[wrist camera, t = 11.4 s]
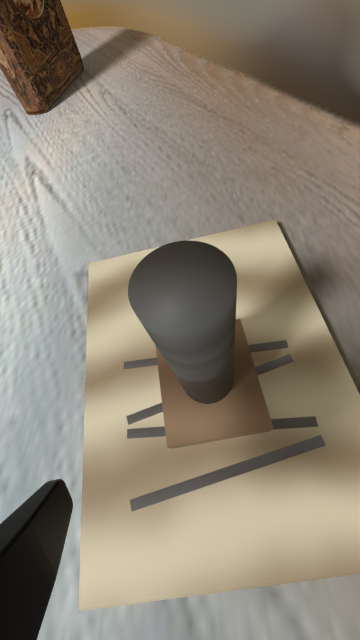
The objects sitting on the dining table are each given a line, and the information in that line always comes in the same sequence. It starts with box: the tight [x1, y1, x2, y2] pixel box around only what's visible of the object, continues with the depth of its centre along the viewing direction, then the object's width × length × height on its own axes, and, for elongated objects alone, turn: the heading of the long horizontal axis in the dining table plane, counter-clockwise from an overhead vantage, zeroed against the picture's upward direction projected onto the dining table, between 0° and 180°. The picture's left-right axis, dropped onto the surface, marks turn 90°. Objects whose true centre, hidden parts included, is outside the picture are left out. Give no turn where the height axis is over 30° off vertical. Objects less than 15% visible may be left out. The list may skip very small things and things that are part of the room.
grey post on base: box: [128, 241, 273, 449], centre depth 13 cm, size 7×6×12 cm
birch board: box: [79, 220, 360, 611], centre depth 19 cm, size 24×18×1 cm
